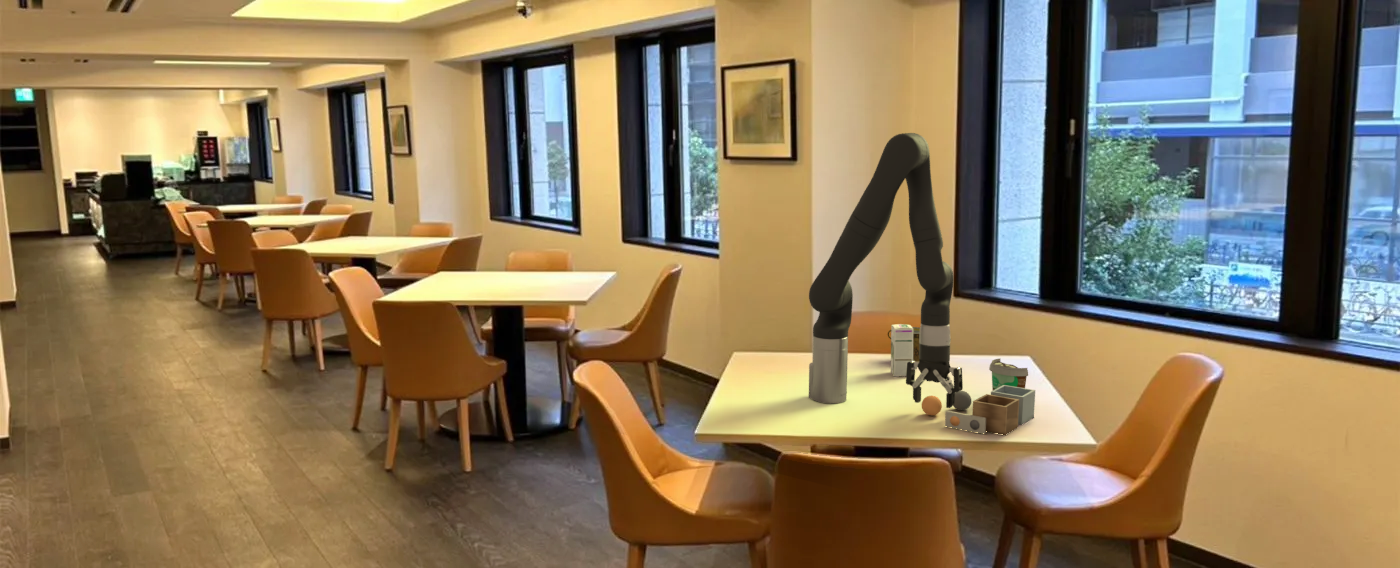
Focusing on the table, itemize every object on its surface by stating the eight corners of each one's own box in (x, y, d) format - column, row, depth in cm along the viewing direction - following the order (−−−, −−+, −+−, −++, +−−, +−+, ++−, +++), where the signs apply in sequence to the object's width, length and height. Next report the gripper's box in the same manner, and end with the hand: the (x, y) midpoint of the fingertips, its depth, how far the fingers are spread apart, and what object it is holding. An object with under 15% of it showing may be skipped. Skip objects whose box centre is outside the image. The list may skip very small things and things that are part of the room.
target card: (944, 427, 246) (945, 411, 245) (946, 426, 247) (946, 410, 246) (984, 434, 240) (985, 418, 239) (985, 434, 241) (986, 417, 240)
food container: (978, 395, 274) (979, 359, 272) (997, 393, 276) (999, 357, 274) (1007, 407, 263) (1009, 370, 261) (1026, 405, 265) (1028, 368, 263)
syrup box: (913, 376, 294) (914, 327, 292) (892, 376, 294) (894, 327, 292) (909, 372, 300) (911, 323, 297) (889, 372, 300) (890, 323, 297)
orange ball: (917, 415, 256) (918, 396, 255) (926, 411, 260) (927, 392, 259) (936, 419, 253) (936, 399, 252) (944, 414, 256) (945, 395, 256)
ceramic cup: (932, 360, 314) (933, 329, 312) (921, 367, 305) (922, 334, 304) (892, 355, 321) (893, 324, 319) (880, 361, 312) (881, 330, 311)
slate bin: (989, 418, 253) (990, 391, 252) (1002, 411, 259) (1003, 384, 258) (1021, 424, 248) (1023, 397, 247) (1033, 417, 254) (1035, 390, 253)
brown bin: (971, 429, 244) (973, 401, 243) (985, 421, 251) (986, 394, 250) (1004, 435, 239) (1006, 407, 238) (1017, 427, 246) (1019, 399, 245)
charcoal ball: (947, 410, 260) (948, 391, 259) (955, 406, 264) (956, 387, 263) (966, 413, 257) (967, 394, 256) (974, 409, 261) (975, 390, 260)
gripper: (901, 340, 254) (900, 403, 257) (955, 347, 246) (953, 412, 248) (915, 335, 260) (914, 397, 263) (968, 342, 251) (966, 405, 254)
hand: (933, 404), depth 255 cm, fingers open, 8 cm apart
